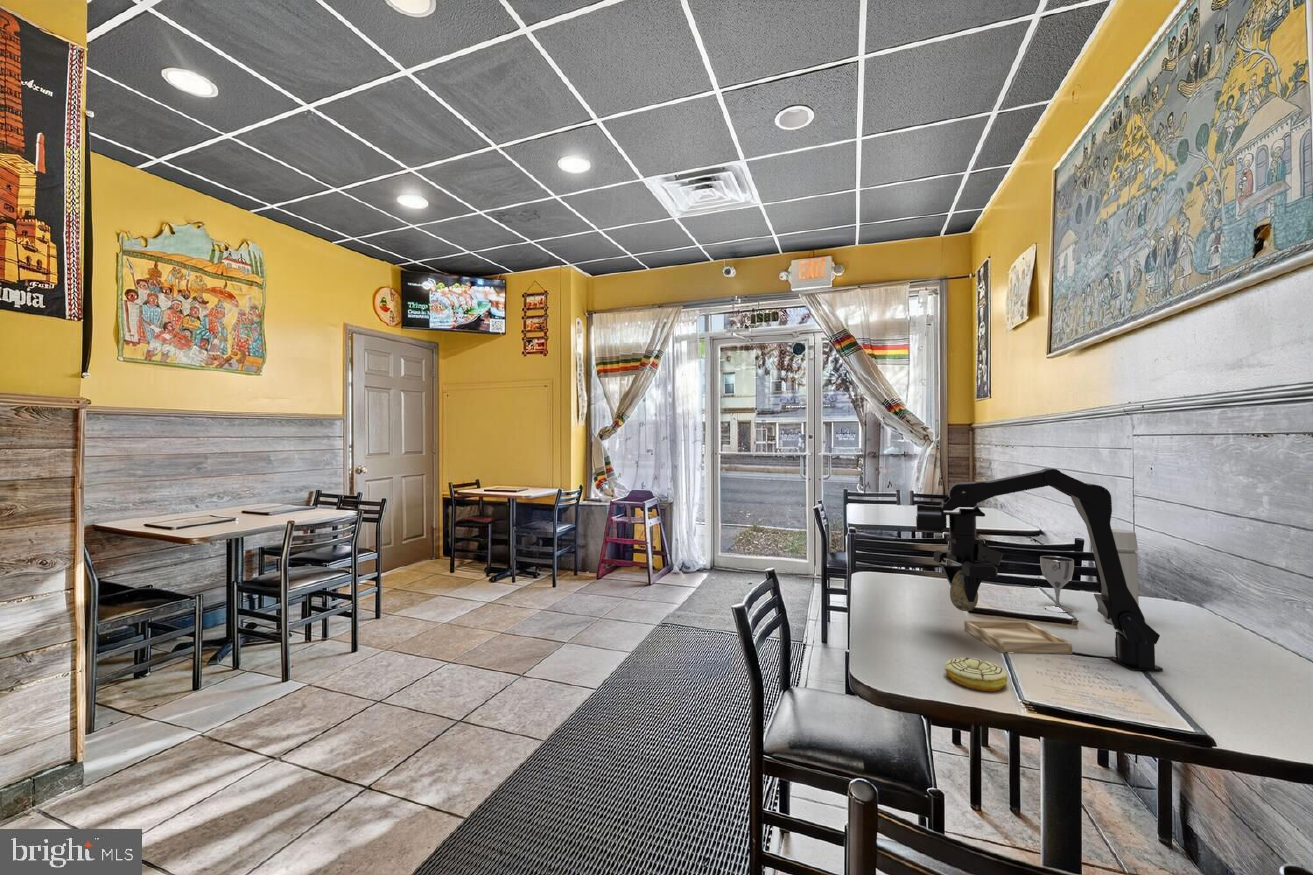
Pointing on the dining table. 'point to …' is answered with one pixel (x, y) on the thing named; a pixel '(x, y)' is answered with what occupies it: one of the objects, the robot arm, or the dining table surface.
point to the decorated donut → (976, 674)
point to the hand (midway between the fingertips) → (964, 598)
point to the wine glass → (1057, 573)
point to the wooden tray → (1017, 637)
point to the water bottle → (1128, 558)
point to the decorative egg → (960, 595)
